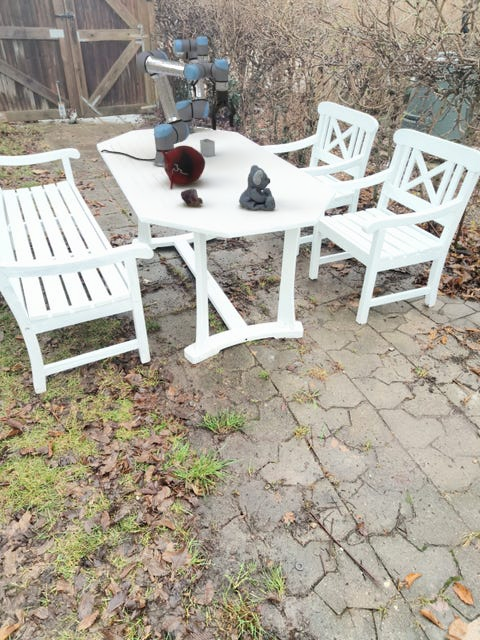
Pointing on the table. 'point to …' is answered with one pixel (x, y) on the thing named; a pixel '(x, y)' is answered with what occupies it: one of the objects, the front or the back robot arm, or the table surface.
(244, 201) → the koala plush
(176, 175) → the red pot
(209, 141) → the block
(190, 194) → the rock
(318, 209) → the table surface
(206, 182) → the table surface
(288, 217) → the table surface
